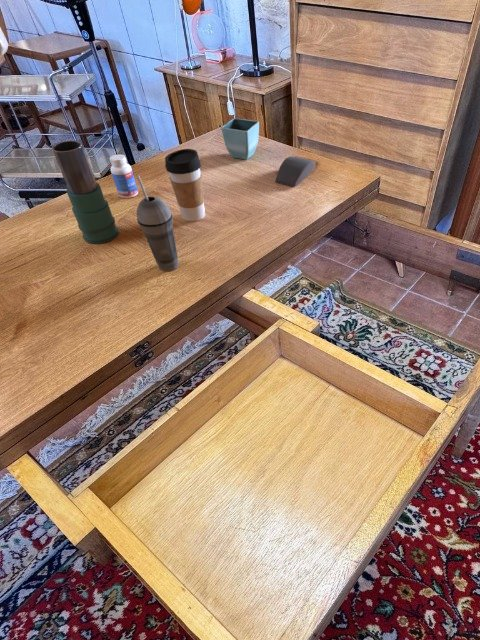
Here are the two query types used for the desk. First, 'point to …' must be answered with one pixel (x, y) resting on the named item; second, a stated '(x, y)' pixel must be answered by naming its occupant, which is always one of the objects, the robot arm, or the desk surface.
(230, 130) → the flower pot
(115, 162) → the pill bottle
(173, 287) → the desk surface
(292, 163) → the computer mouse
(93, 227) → the cup stack
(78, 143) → the charcoal cup
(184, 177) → the coffee cup
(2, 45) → the robot arm
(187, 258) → the desk surface
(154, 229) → the beverage cup
